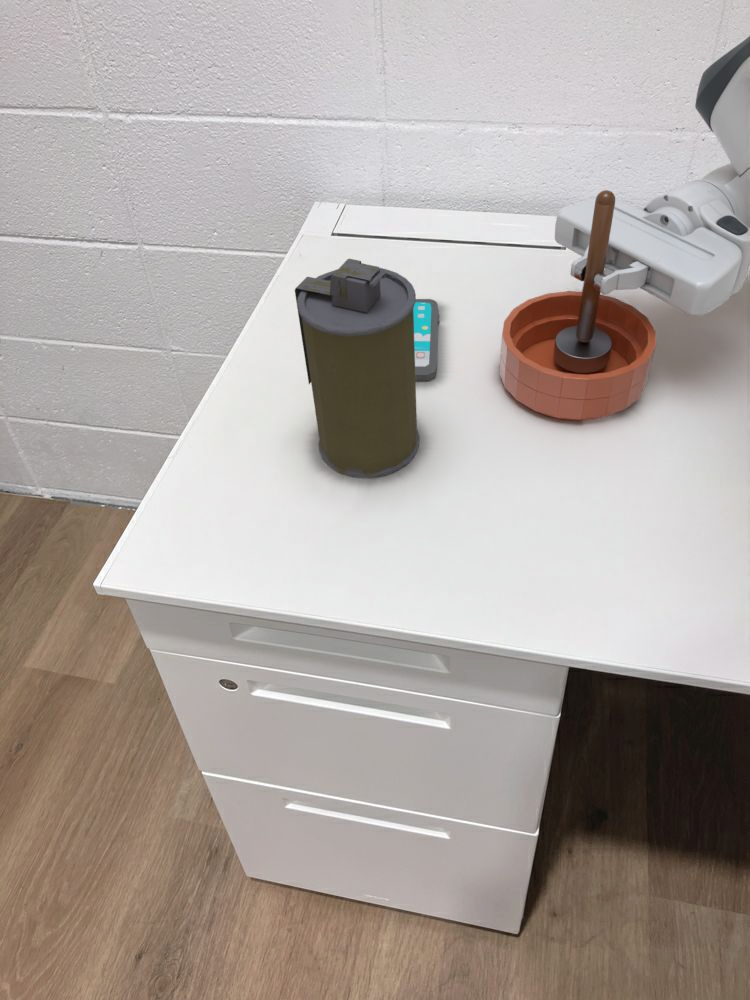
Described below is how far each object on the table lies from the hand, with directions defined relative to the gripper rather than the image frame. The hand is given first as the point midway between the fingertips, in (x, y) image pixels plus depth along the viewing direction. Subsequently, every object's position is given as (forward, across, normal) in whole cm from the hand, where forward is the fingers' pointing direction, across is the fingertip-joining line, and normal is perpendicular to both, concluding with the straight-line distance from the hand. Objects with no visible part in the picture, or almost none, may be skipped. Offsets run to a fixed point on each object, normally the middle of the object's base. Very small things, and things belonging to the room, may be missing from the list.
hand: (587, 278), depth 80 cm
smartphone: (+11, -17, +12) cm, 23 cm away
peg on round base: (-1, 0, +10) cm, 10 cm away
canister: (+24, -5, +12) cm, 28 cm away
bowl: (+1, +1, +12) cm, 12 cm away
